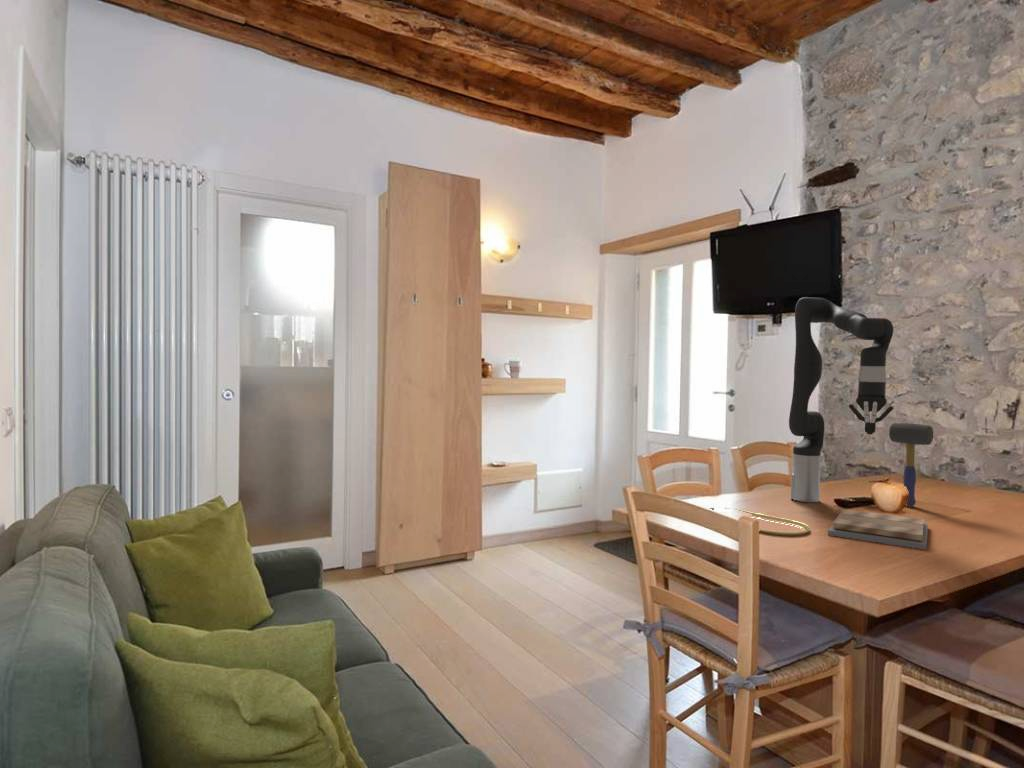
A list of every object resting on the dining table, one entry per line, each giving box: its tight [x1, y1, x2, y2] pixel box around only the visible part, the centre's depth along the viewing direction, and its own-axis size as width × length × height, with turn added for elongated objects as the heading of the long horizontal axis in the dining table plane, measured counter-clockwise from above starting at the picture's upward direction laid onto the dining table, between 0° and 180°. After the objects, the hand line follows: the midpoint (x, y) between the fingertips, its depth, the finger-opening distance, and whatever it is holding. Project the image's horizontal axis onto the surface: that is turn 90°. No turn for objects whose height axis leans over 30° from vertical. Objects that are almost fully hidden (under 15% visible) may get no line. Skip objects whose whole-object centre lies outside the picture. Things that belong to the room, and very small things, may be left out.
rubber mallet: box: [888, 422, 934, 508], centre depth 219 cm, size 12×8×30 cm, turn 39°
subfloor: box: [827, 511, 929, 551], centre depth 184 cm, size 24×28×3 cm
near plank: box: [832, 518, 923, 541], centre depth 178 cm, size 22×8×2 cm, turn 55°
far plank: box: [839, 508, 925, 528], centre depth 191 cm, size 22×8×2 cm, turn 55°
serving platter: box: [709, 507, 811, 537], centre depth 193 cm, size 19×35×2 cm, turn 42°
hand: (869, 434), depth 196 cm, fingers closed
